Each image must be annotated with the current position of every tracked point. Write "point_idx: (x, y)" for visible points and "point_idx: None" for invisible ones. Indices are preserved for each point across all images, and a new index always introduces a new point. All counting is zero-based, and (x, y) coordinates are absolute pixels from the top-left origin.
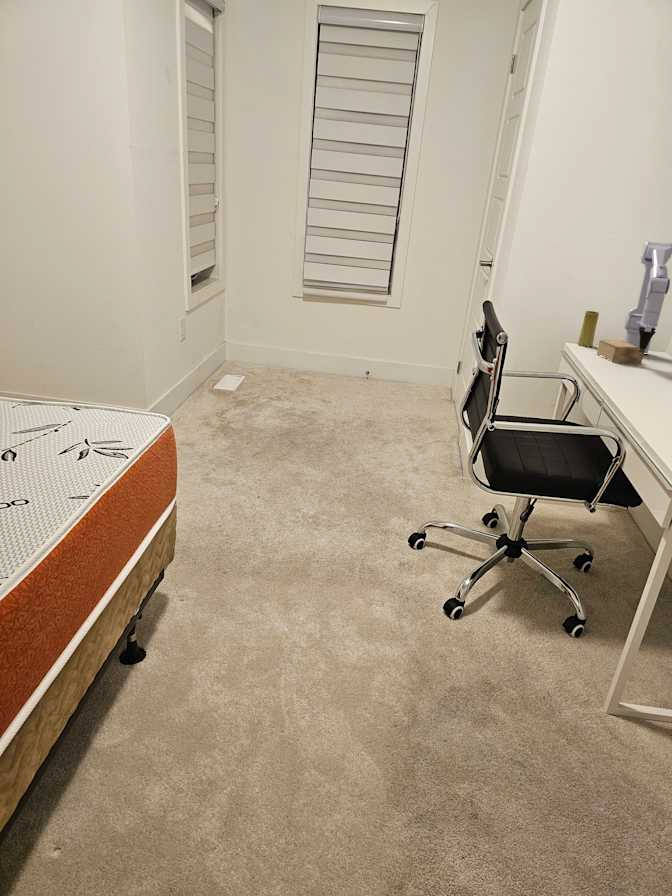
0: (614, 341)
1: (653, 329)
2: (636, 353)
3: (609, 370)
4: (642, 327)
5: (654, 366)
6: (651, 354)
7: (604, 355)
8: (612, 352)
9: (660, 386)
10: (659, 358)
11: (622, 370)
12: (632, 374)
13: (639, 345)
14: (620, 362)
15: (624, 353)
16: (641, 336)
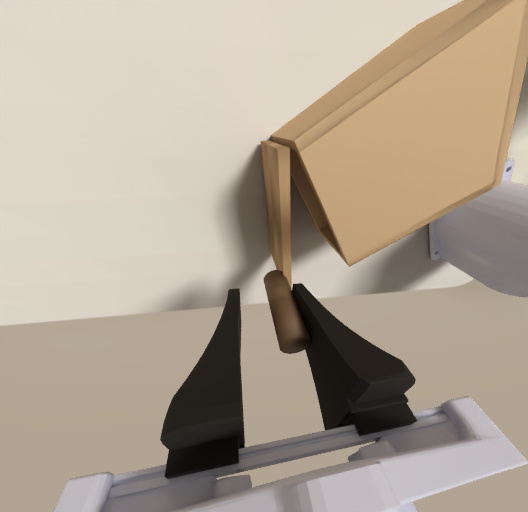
0: (479, 130)
1: (328, 427)
2: (278, 255)
3: (33, 123)
4: (376, 394)
5: (292, 281)
6: (447, 263)
7: (347, 80)
8: (296, 127)
9: (7, 317)
10: (401, 282)
11: (120, 193)
12: (86, 235)
13: (227, 298)
14: (264, 179)
15: (273, 201)
16: (203, 361)
